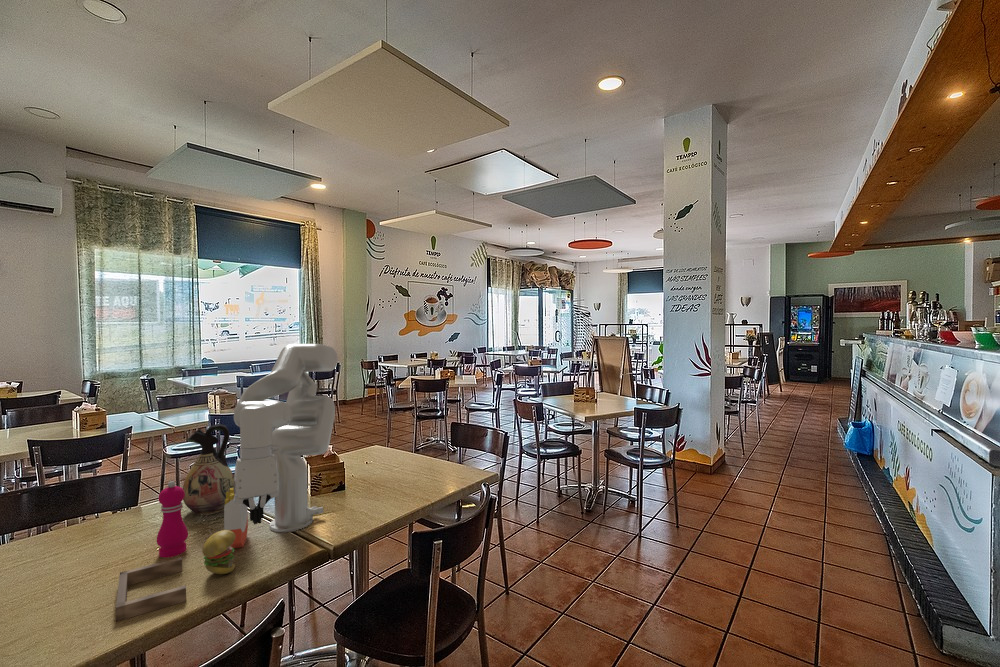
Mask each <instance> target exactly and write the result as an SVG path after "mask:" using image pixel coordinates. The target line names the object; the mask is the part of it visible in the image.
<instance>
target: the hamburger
mask: <svg viewBox="0 0 1000 667" xmlns="http://www.w3.org/2000/svg"><path fill="white" fill-rule="evenodd" d="M208 532H209V533H210V534H211V535H210V536H209V537H208V538H207V539H206V540H205V542H204V543H203V545H202V550H201V551H202V554H203V557H202V558H203V562H204V563H203V564H204V566H205V569H206V570H207V571H208V572H210V573H212V574H216V575H226V574H229V573H232V572H233V571H234V569H235V568H236V567H235V566H236V564H235V563H234V560H233V559H234V558H235V555H234V552H235V548H232V547H231V546H230V545H232V544H233V542H234V540H235V534H234V533H233V532H232V531H230V530H224V529H222V530H219V531H216V532H214V533H212V531H211V529H208Z"/></svg>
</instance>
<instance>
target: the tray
mask: <svg viewBox="0 0 1000 667" xmlns="http://www.w3.org/2000/svg"><path fill="white" fill-rule="evenodd" d="M181 572H183V558H182V556H180V557H178V558H177V557H176V558H173V559H170V560H169V559H168V560H166V561H165V560H164V561H162V562H157V563H152V564H148V565H145V566H141V567H137V568H133V569H129V570H124V571H121V572H119V576H118V577H119V578H118V586H117V594H116V603H115V622H120V621H123V620H126V619H129V618H133V617H137V616H139V615H143V614H147V613H149V612H150V613H151V612H153V611H156V610H161V609H164V608H166V607H170V606H174V605H176V604H180V603H184V602H187V586H186V585H187V584H184V585H181V586H178V587H174V588H170V589H167V590H163V591H159V592H155V593H151V594H148V595H145V596H142V597H138V598H135V599H131V600H127V599H128V587H129V586H130V585H131V586H132V585H135V584H138V583H142V582H146V581H150V580H154V579H158V578H161V577H165V576H168V575H169V576H170V575H173V574H176V573H181Z"/></svg>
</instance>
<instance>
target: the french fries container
mask: <svg viewBox="0 0 1000 667" xmlns="http://www.w3.org/2000/svg"><path fill="white" fill-rule="evenodd" d="M229 490H230V492H226V499H225V506H224V510H223V513H224V514H223V521H224V522H223V530H230V531H232V532H233V533H234V534H235V540H234V542H233V544H232V545H230V546H231V547H232V548H234V549H239V548H244V547H245V543H246V541H247V537H248V529H249V528H248V527H249V523H248V522H249V521H248V519H249V517H248V515H249V514H248V513H249V511H248V508H249V507H247V506H246V505H244V504H234V502H233V500H234V496H235V494H234V488H230V489H229Z"/></svg>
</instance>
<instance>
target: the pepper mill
mask: <svg viewBox="0 0 1000 667" xmlns="http://www.w3.org/2000/svg"><path fill="white" fill-rule="evenodd" d="M184 497H185V492H184V490H183V487H181V486H178V485H176V482H175V481H173V480H171V481H169V482H168V483H167V487H165V488H163V489H162V490H161V491H160V493H159V494H158V502H159V504H161V507H160V509H161V510H160V512H161V513H162V522H161V525H160V528H159V530H158V532H157V535H156V544H157V545H158V546H159V549H158V555H159V556H158V557H160V558H166V559H167V558H172V557H176V556H179V555H181V554H183V553H184V552H186V551H187V543H186V540H187V539H188V537H189V532H188V527H187V526H186V524H185V522H184V520H183V517H182V509H183V507H184V506H183V505H184V502H183V499H184Z"/></svg>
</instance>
